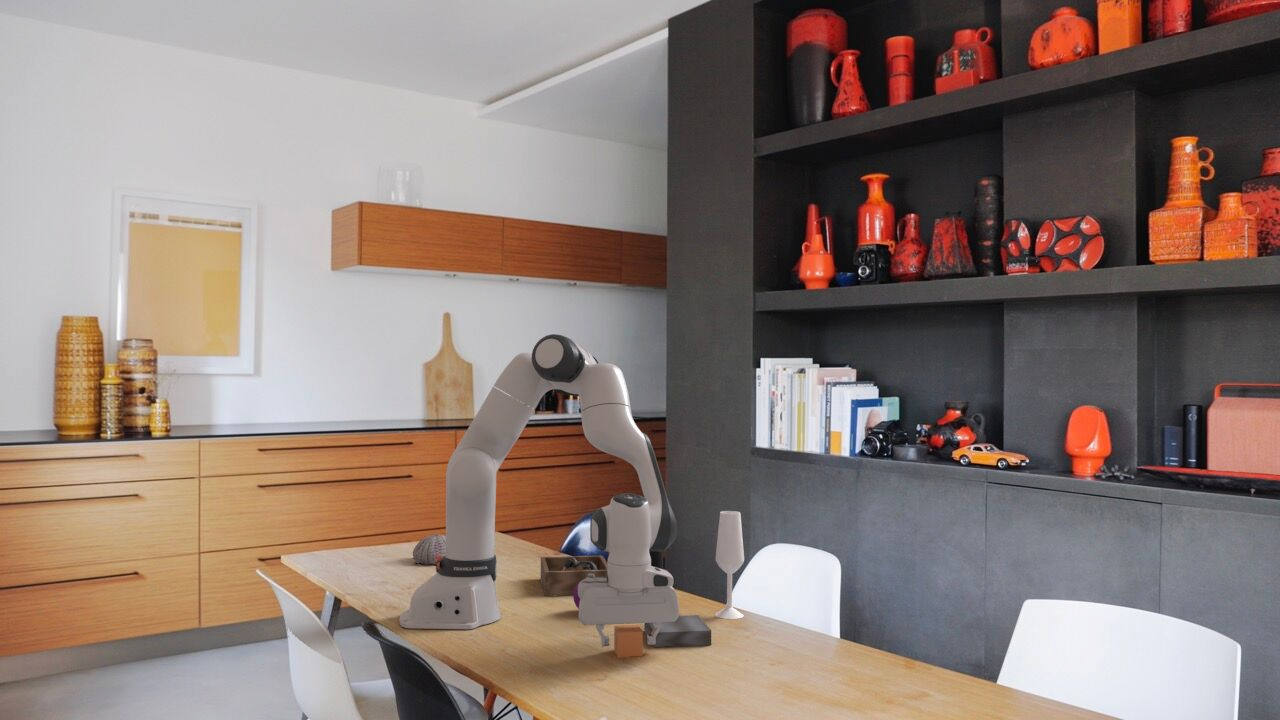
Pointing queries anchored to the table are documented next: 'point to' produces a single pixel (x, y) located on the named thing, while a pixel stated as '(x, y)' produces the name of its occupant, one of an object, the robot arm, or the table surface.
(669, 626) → the stand
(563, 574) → the figurine pen
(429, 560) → the sea urchin shell
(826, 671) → the table surface
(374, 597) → the table surface
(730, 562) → the champagne flute
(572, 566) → the bison figurine
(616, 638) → the cube
